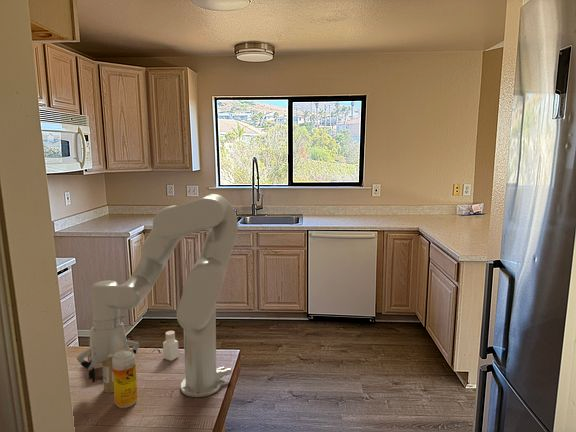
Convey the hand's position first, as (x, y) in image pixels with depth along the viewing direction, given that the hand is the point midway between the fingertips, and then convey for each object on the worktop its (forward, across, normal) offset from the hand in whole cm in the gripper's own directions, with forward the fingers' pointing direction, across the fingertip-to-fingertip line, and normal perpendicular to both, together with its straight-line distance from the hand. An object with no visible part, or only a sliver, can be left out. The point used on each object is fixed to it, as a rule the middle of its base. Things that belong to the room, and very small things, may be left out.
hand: (110, 375), depth 121 cm
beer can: (+5, -3, +10) cm, 11 cm away
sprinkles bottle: (+5, 0, 0) cm, 5 cm away
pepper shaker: (+5, -21, -10) cm, 24 cm away
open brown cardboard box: (+4, -2, -15) cm, 16 cm away
